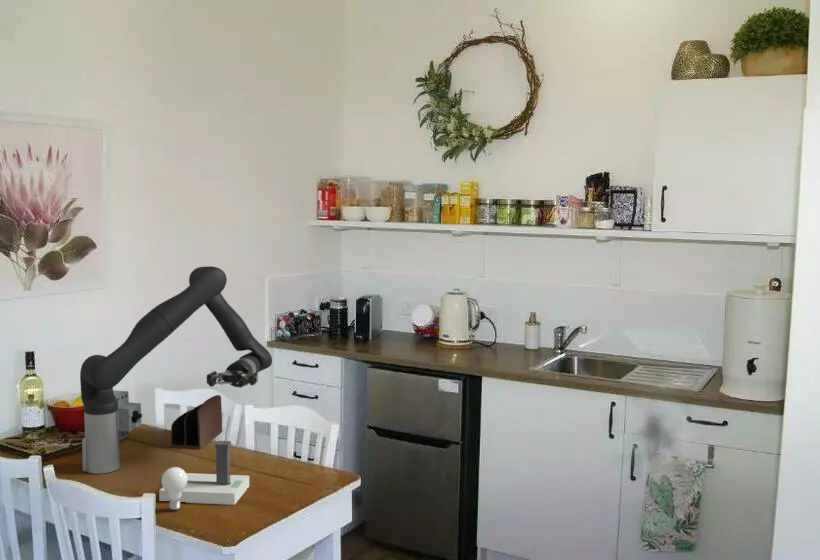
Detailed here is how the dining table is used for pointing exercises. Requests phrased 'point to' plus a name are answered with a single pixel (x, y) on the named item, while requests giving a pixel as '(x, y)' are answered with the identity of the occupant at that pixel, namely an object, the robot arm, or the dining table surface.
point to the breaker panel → (210, 489)
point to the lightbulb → (174, 485)
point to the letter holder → (198, 425)
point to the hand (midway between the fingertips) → (225, 383)
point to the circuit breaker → (127, 413)
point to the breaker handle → (222, 462)
